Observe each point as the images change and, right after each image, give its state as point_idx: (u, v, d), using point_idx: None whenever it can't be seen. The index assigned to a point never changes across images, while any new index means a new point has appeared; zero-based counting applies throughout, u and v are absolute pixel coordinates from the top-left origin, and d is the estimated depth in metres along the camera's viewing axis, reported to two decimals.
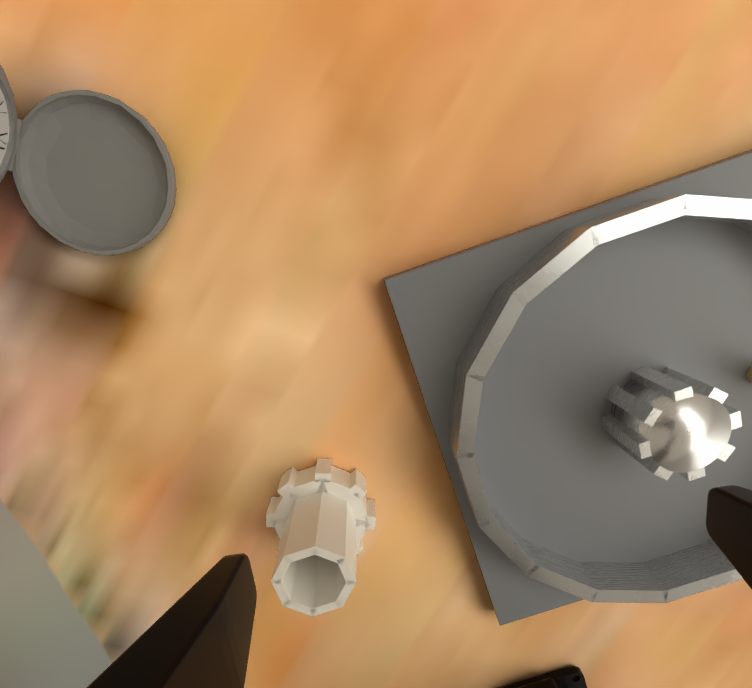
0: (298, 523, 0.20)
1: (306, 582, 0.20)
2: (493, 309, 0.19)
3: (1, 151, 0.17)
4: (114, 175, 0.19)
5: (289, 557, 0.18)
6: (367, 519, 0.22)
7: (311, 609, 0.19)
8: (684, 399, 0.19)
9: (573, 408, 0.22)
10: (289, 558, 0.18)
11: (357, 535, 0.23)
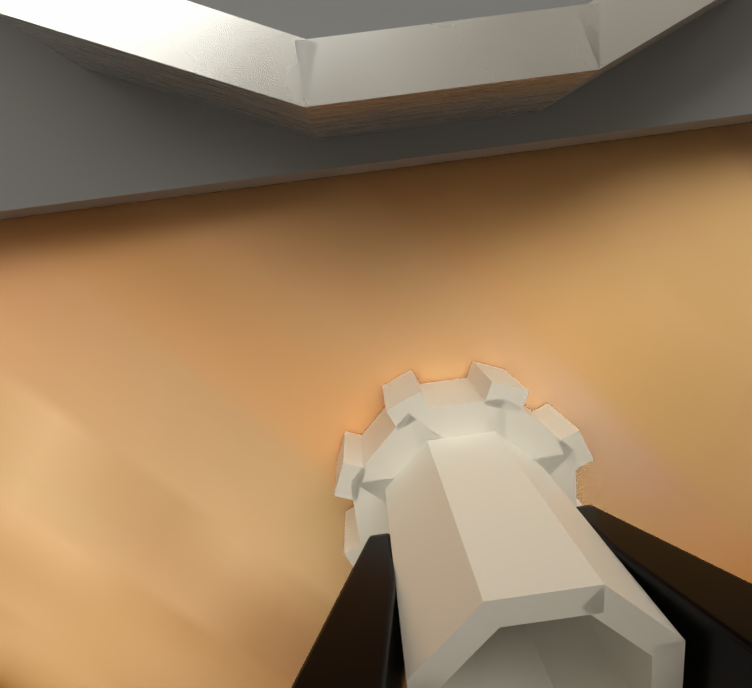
0: None
1: (575, 652, 0.07)
2: None
3: None
4: None
5: None
6: (494, 402, 0.09)
7: None
8: None
9: None
10: None
11: (532, 434, 0.09)
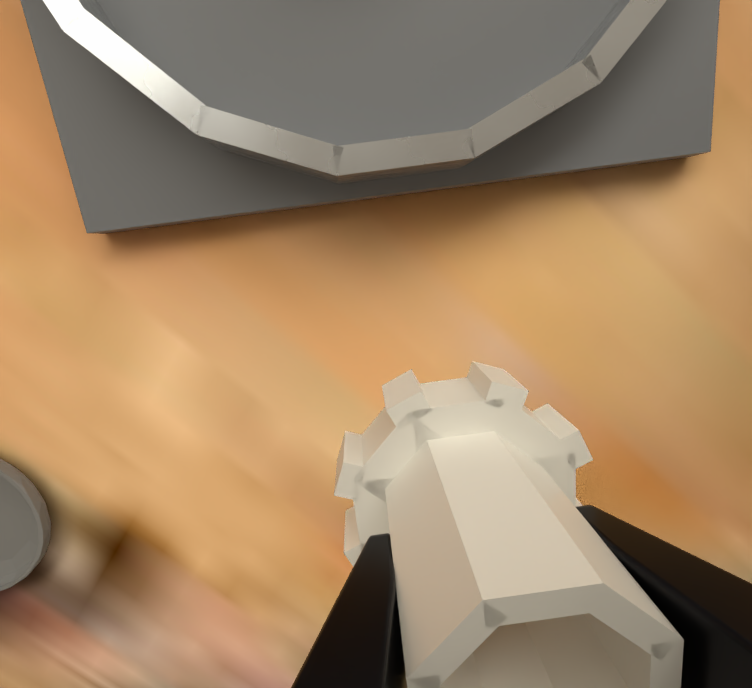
0: None
1: (574, 651, 0.07)
2: None
3: None
4: None
5: None
6: (494, 402, 0.09)
7: None
8: None
9: None
10: None
11: (531, 434, 0.09)
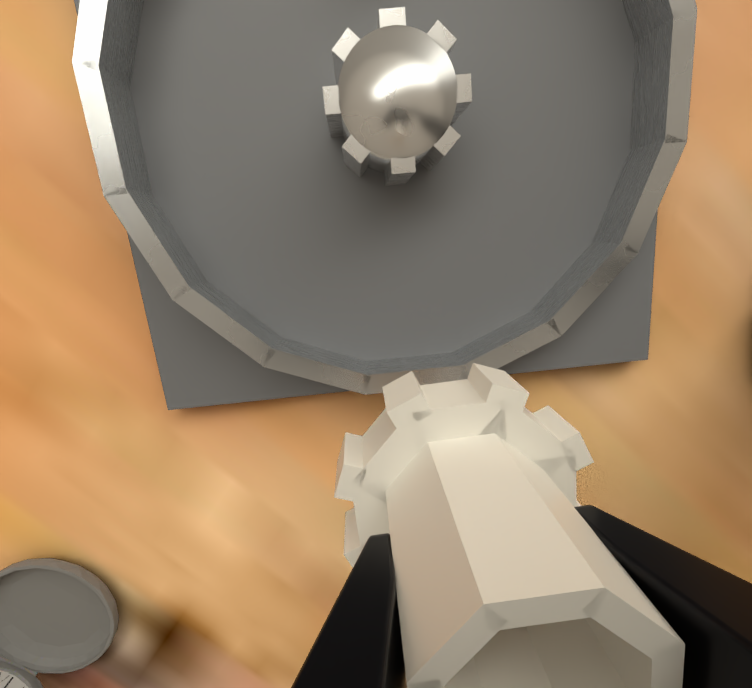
0: None
1: (575, 655, 0.07)
2: None
3: (13, 681, 0.21)
4: (53, 600, 0.22)
5: None
6: (494, 404, 0.09)
7: None
8: (339, 99, 0.13)
9: (364, 221, 0.17)
10: None
11: (532, 436, 0.09)
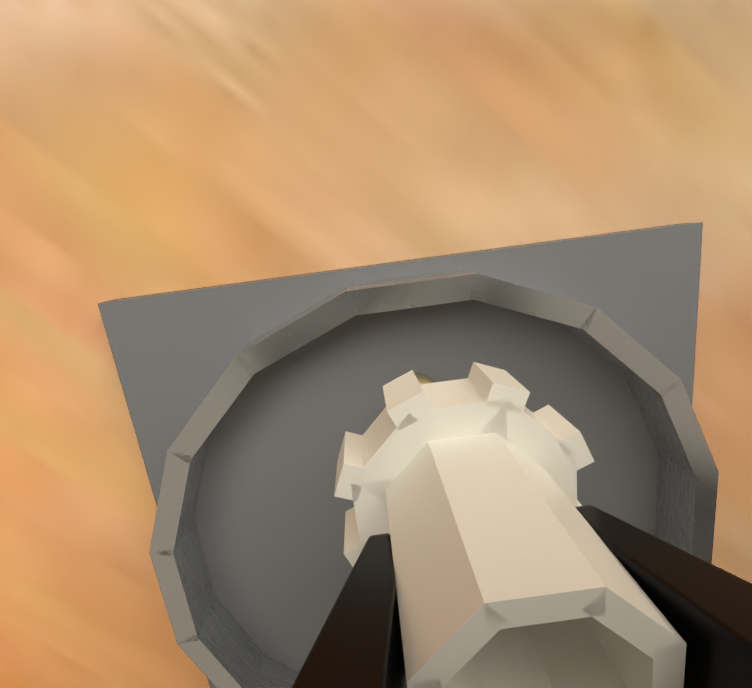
0: None
1: (575, 654, 0.07)
2: None
3: None
4: None
5: None
6: (495, 403, 0.09)
7: None
8: None
9: None
10: None
11: (532, 435, 0.09)
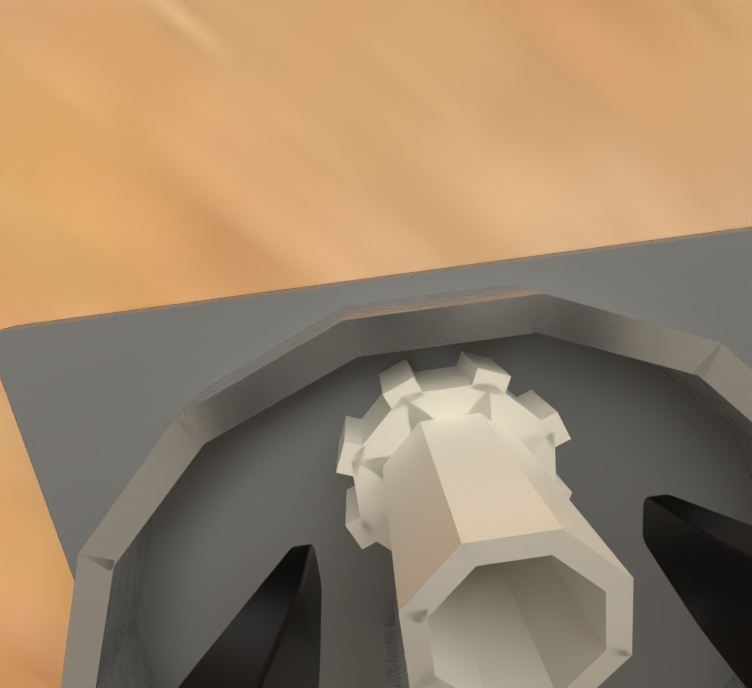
0: None
1: (548, 601, 0.08)
2: None
3: None
4: None
5: (418, 675, 0.06)
6: (479, 387, 0.10)
7: (608, 653, 0.06)
8: None
9: None
10: (420, 677, 0.06)
11: (514, 415, 0.10)
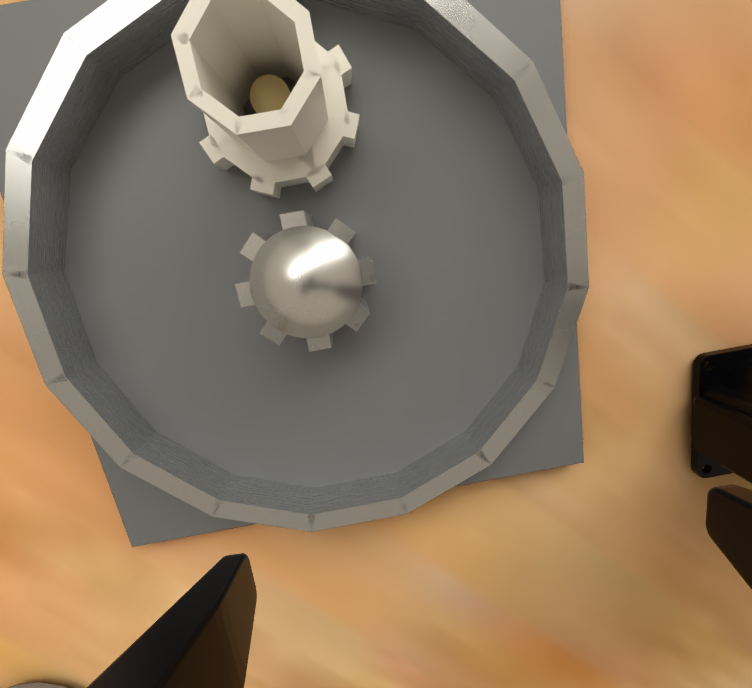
0: None
1: None
2: None
3: None
4: None
5: (191, 90, 0.11)
6: None
7: (306, 75, 0.11)
8: (252, 293, 0.14)
9: (299, 366, 0.18)
10: (192, 89, 0.11)
11: None
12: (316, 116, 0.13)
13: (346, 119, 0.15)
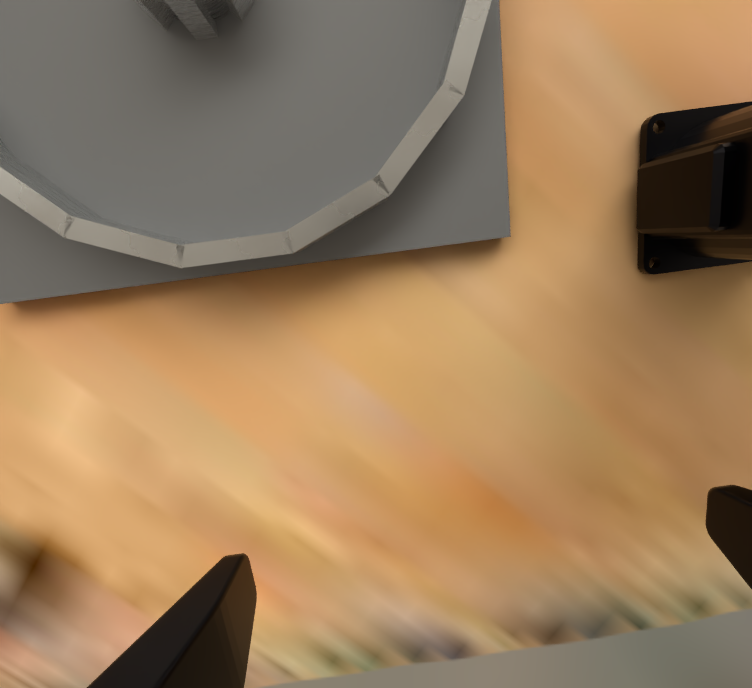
0: None
1: None
2: None
3: None
4: None
5: None
6: None
7: None
8: None
9: (178, 82, 0.16)
10: None
11: None
12: None
13: None
